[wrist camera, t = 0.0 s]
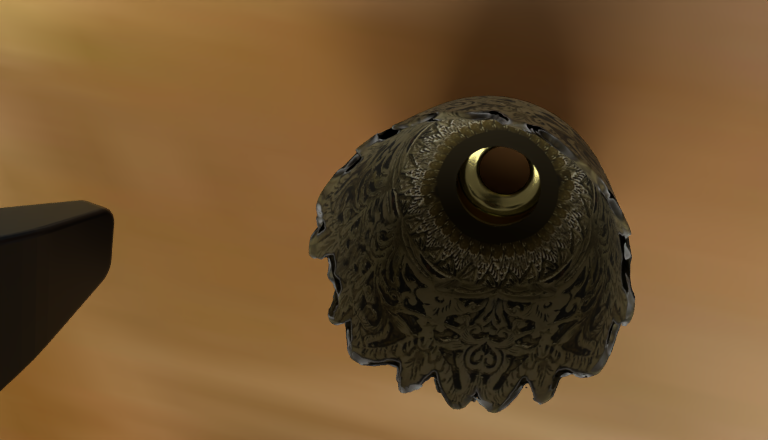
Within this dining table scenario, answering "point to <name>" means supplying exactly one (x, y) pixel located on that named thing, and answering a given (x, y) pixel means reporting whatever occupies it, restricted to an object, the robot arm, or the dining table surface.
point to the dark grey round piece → (476, 254)
